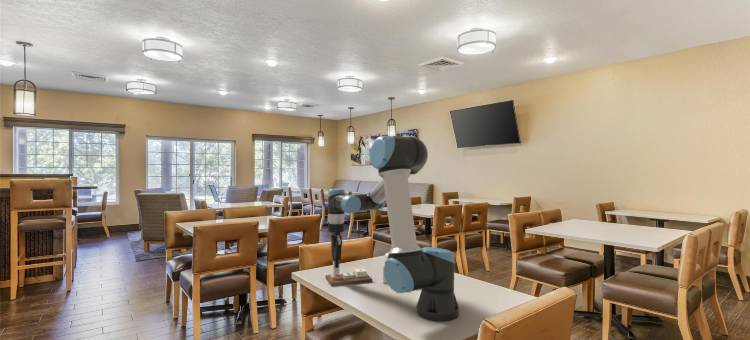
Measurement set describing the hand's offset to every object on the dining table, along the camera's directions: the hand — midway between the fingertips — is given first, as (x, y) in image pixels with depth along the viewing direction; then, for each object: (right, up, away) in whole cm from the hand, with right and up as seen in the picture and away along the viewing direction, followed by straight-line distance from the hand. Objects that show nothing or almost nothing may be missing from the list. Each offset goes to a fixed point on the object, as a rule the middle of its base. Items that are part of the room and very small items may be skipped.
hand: (336, 274), depth 171 cm
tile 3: (0, -3, 0) cm, 3 cm away
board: (+6, -3, +2) cm, 7 cm away
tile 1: (+11, -2, +4) cm, 12 cm away
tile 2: (+6, -3, +2) cm, 6 cm away
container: (+26, -4, 0) cm, 26 cm away
